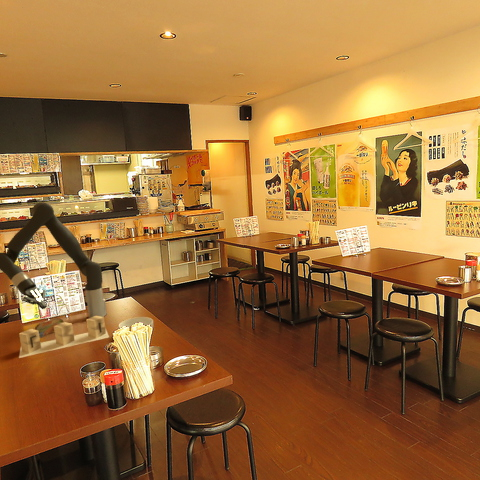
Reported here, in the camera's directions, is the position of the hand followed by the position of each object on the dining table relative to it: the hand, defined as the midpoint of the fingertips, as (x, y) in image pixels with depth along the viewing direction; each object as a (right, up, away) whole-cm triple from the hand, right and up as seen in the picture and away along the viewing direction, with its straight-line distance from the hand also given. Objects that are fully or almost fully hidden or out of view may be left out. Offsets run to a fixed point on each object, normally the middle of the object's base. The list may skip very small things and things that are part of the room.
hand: (44, 307), depth 196 cm
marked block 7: (-3, -19, -8) cm, 20 cm away
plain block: (+11, -17, -1) cm, 20 cm away
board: (+11, -18, -1) cm, 21 cm away
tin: (-3, -17, +12) cm, 21 cm away
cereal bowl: (+45, -15, +3) cm, 48 cm away
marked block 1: (+24, -15, +5) cm, 29 cm away
